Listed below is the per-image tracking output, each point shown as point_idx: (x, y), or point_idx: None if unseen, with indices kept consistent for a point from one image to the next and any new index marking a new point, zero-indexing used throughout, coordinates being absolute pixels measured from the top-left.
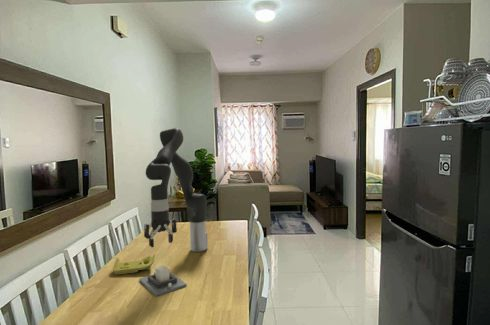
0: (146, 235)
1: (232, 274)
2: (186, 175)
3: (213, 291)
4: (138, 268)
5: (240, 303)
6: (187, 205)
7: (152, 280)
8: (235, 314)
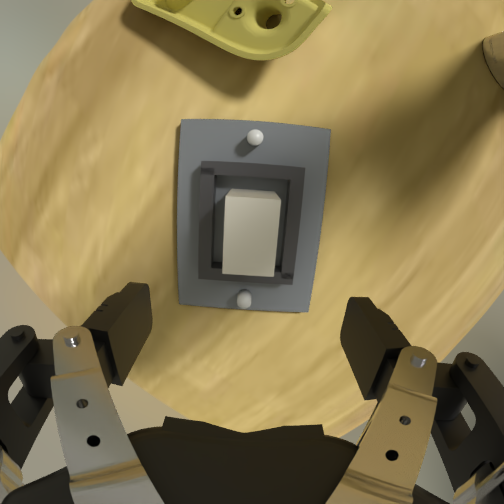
0: (23, 408)
1: (445, 329)
2: None
3: (335, 381)
4: (210, 41)
5: None
6: None
7: (199, 221)
8: None
